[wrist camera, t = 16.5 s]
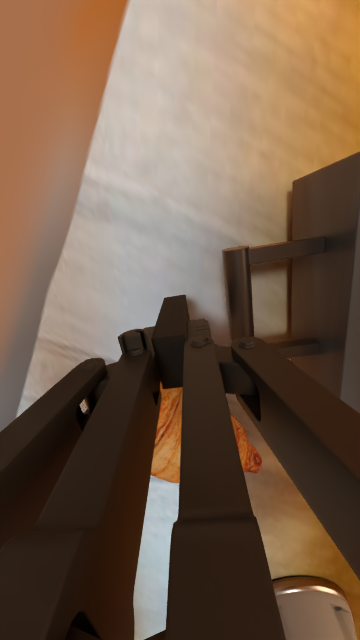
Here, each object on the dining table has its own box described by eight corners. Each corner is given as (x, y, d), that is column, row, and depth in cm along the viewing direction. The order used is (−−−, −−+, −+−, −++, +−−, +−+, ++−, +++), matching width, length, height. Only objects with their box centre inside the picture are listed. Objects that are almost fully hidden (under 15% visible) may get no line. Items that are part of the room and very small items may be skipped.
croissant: (86, 368, 28) (42, 436, 23) (99, 321, 21) (38, 407, 15) (236, 438, 31) (229, 514, 25) (295, 419, 23) (301, 520, 18)
